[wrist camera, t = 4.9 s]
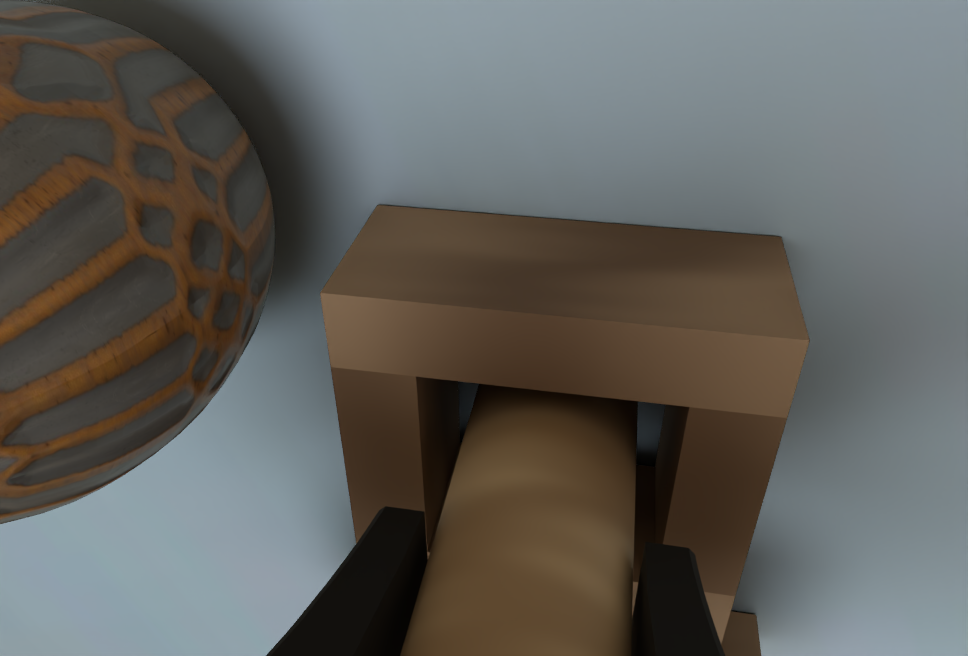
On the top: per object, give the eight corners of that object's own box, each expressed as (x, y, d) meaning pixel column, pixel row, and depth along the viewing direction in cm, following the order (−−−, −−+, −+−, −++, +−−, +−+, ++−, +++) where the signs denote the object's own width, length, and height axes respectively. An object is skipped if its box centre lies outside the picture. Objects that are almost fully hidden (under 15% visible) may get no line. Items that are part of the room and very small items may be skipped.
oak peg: (648, 334, 14) (644, 805, 8) (627, 455, 16) (608, 923, 9) (484, 314, 14) (345, 746, 8) (480, 434, 16) (365, 870, 10)
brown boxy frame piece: (876, 244, 13) (1039, 588, 7) (748, 639, 19) (785, 984, 14) (298, 198, 14) (77, 458, 9) (356, 579, 21) (247, 869, 15)
